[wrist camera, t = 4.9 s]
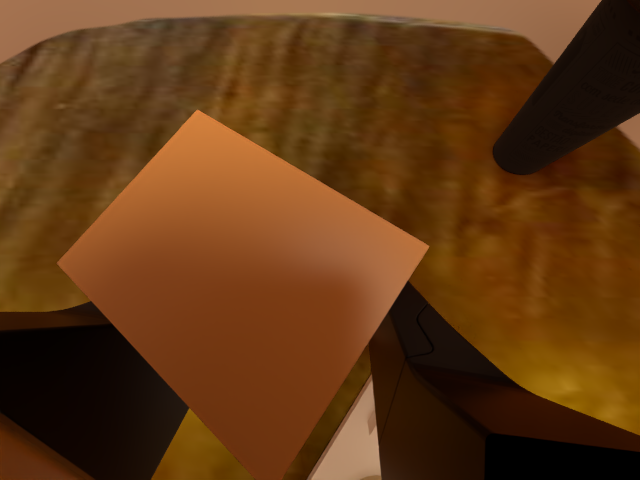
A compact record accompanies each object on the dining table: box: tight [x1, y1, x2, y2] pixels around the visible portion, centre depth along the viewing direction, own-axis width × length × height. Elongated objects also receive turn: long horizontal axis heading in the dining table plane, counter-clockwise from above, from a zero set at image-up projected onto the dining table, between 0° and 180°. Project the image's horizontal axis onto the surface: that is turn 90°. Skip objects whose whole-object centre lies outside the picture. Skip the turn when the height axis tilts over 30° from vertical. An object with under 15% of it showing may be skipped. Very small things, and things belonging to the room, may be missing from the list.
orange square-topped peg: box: [57, 110, 429, 480], centre depth 10 cm, size 4×4×14 cm
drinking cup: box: [493, 0, 640, 175], centre depth 14 cm, size 8×8×20 cm
